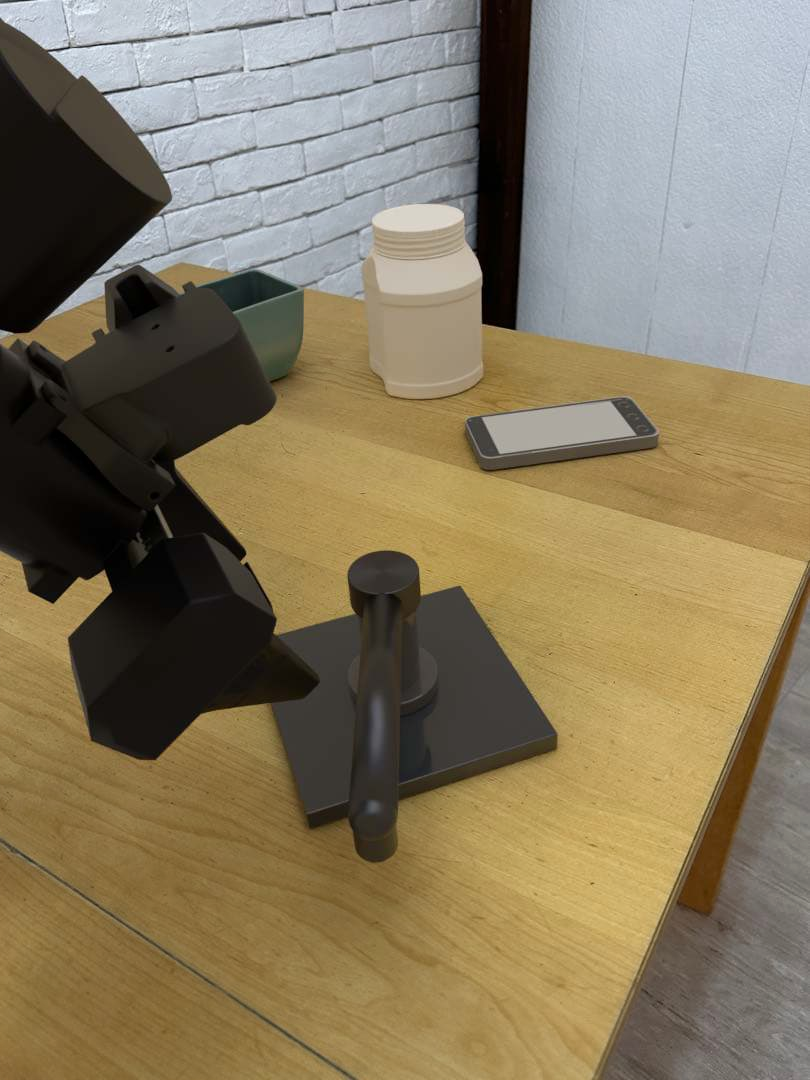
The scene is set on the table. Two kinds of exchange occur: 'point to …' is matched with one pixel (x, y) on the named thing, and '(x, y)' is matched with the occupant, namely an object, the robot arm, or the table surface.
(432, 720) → the black flat block
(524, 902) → the table surface
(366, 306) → the jar
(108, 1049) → the table surface
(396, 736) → the spout
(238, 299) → the flower pot
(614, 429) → the smartphone
